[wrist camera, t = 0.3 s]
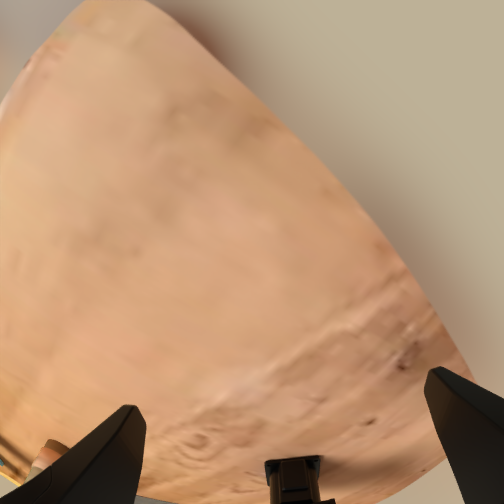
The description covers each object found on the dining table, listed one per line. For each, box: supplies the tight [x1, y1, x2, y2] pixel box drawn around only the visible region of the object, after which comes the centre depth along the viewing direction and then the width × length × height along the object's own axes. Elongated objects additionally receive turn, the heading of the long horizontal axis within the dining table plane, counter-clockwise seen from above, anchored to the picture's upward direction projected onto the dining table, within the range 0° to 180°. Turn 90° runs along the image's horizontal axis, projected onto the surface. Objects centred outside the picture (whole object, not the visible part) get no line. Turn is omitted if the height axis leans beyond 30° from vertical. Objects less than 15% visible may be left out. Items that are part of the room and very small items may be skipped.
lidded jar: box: [23, 439, 69, 484], centre depth 27 cm, size 5×5×10 cm
